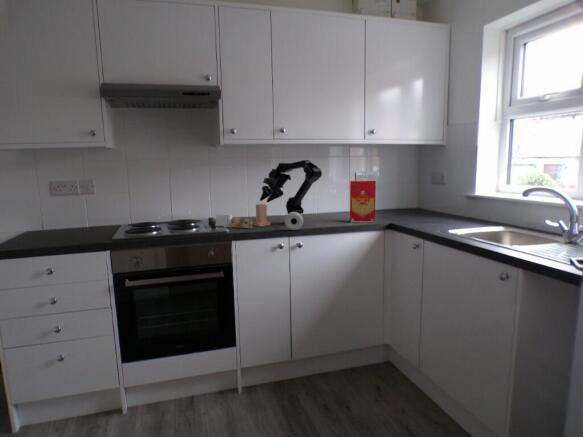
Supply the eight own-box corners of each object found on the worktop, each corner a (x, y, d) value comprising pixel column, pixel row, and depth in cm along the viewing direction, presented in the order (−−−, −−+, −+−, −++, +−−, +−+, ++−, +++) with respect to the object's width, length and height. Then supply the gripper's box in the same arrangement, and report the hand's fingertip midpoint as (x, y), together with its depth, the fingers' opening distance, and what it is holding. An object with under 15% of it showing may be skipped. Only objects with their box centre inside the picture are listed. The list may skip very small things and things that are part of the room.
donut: (303, 229, 202) (303, 211, 200) (303, 230, 198) (303, 212, 197) (284, 229, 201) (284, 211, 200) (284, 230, 198) (284, 212, 197)
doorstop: (263, 223, 224) (263, 203, 223) (270, 224, 218) (270, 204, 217) (252, 224, 220) (252, 204, 218) (259, 226, 214) (259, 205, 212)
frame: (216, 226, 213) (215, 214, 212) (218, 226, 215) (218, 214, 214) (231, 227, 210) (230, 215, 209) (233, 226, 212) (232, 214, 211)
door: (231, 227, 209) (230, 218, 209) (233, 226, 211) (233, 218, 211) (250, 228, 205) (250, 219, 204) (252, 228, 207) (252, 219, 206)
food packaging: (350, 222, 226) (350, 181, 222) (349, 221, 231) (350, 180, 227) (374, 222, 225) (375, 181, 221) (373, 221, 230) (374, 180, 226)
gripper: (264, 172, 229) (248, 191, 225) (278, 173, 213) (261, 193, 209) (275, 185, 234) (260, 203, 230) (290, 186, 218) (274, 206, 214)
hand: (263, 201), depth 221 cm, fingers open, 9 cm apart
